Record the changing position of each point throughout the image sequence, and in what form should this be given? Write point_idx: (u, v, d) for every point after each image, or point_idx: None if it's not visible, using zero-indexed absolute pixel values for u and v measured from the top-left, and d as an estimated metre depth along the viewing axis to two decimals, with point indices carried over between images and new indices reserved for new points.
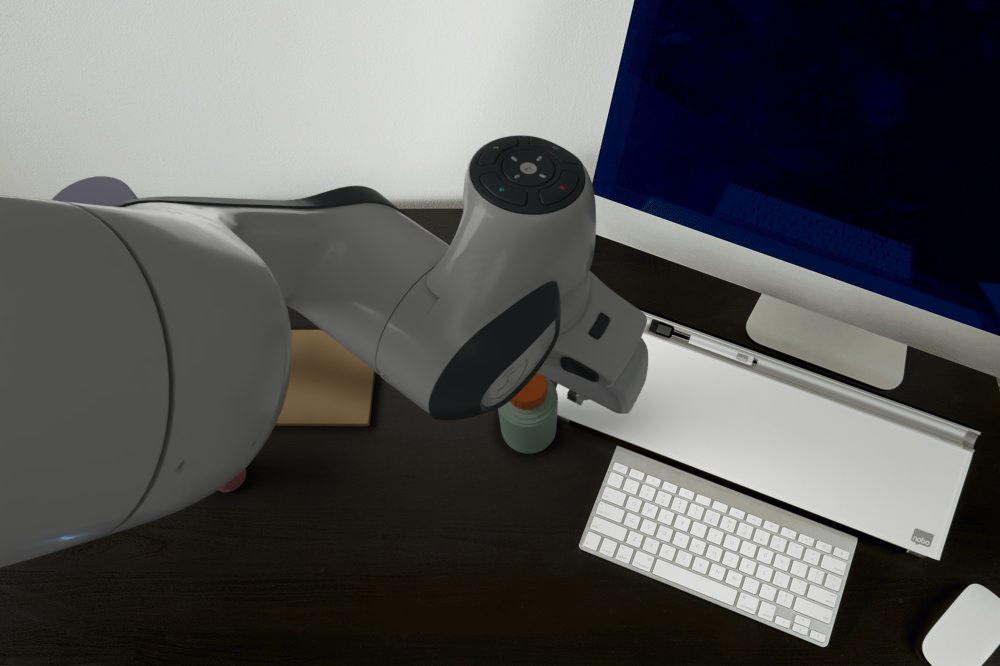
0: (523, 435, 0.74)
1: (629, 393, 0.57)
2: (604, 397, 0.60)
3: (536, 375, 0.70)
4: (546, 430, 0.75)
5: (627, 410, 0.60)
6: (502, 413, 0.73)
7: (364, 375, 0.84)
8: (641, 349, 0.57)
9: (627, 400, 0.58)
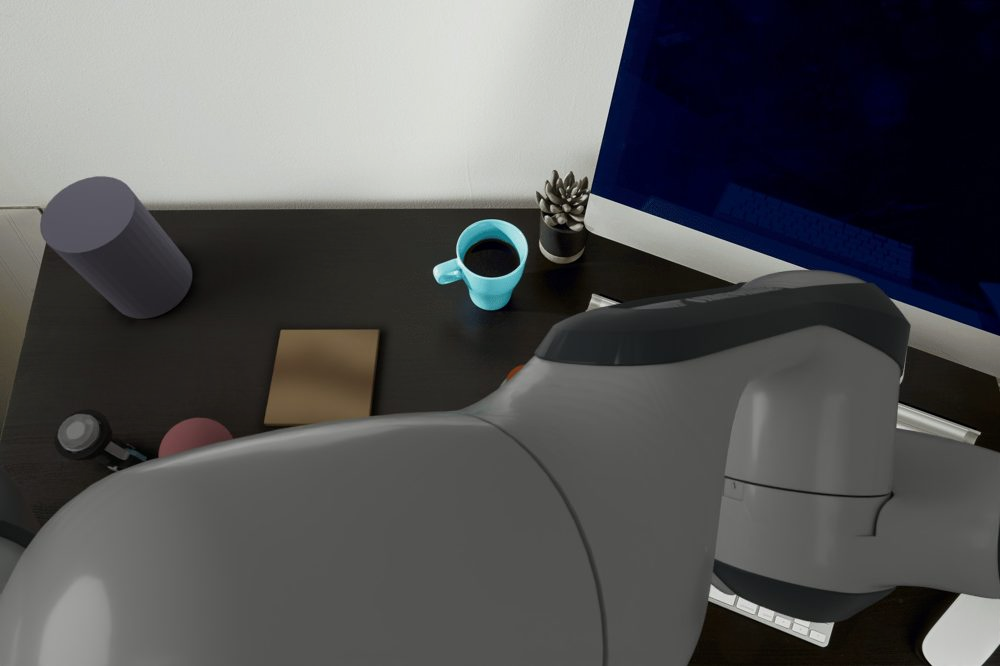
0: None
1: None
2: None
3: None
4: None
5: None
6: None
7: (364, 375, 0.84)
8: None
9: None
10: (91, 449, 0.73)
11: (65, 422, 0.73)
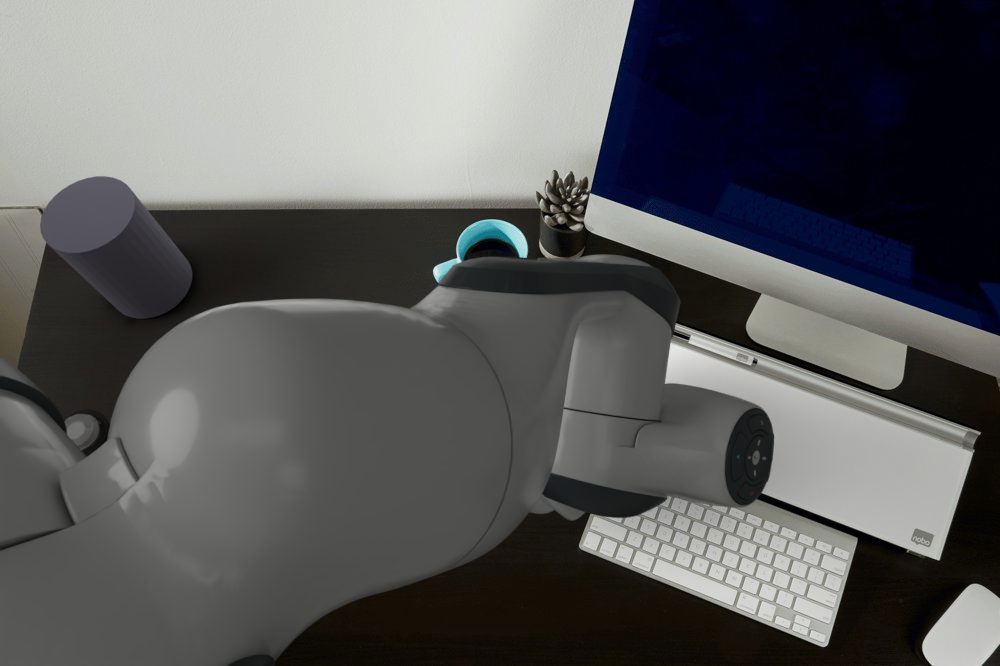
0: None
1: None
2: None
3: None
4: None
5: None
6: None
7: None
8: (543, 509, 0.64)
9: None
10: (91, 449, 0.73)
11: (65, 422, 0.73)
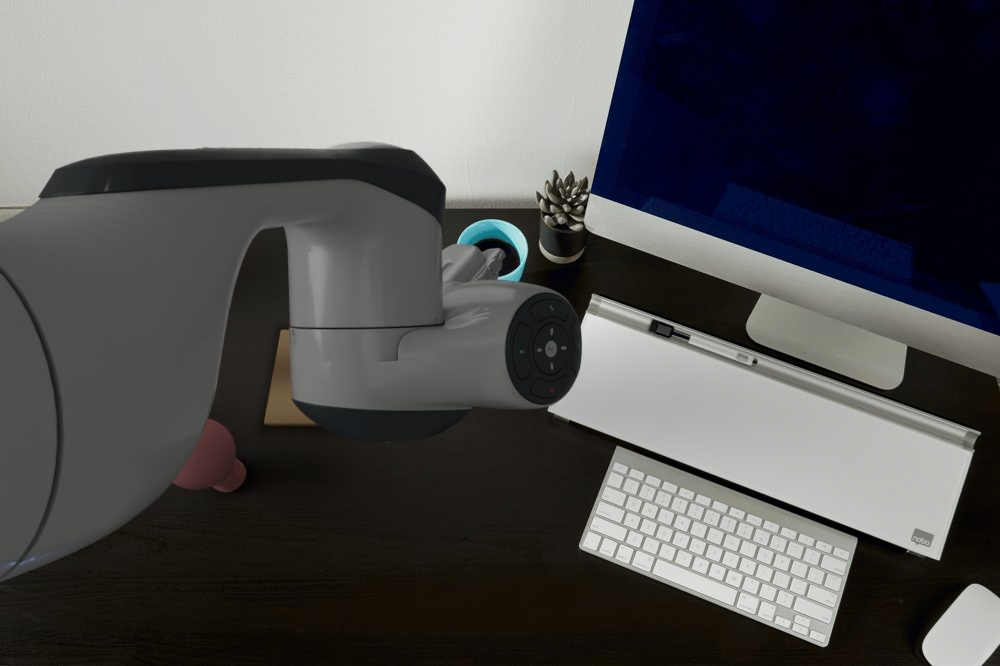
0: None
1: None
2: None
3: None
4: None
5: None
6: None
7: None
8: None
9: None
10: None
11: None
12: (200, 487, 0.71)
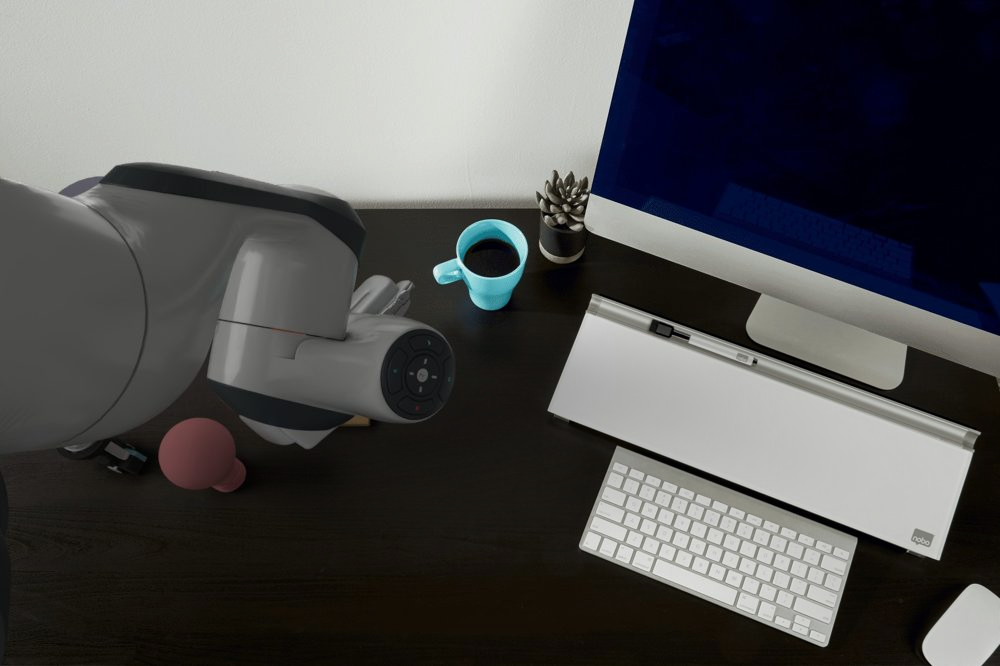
0: None
1: (251, 420, 0.68)
2: None
3: None
4: None
5: (240, 416, 0.70)
6: None
7: None
8: (285, 439, 0.68)
9: (246, 417, 0.68)
10: (91, 449, 0.73)
11: None
12: (200, 487, 0.71)
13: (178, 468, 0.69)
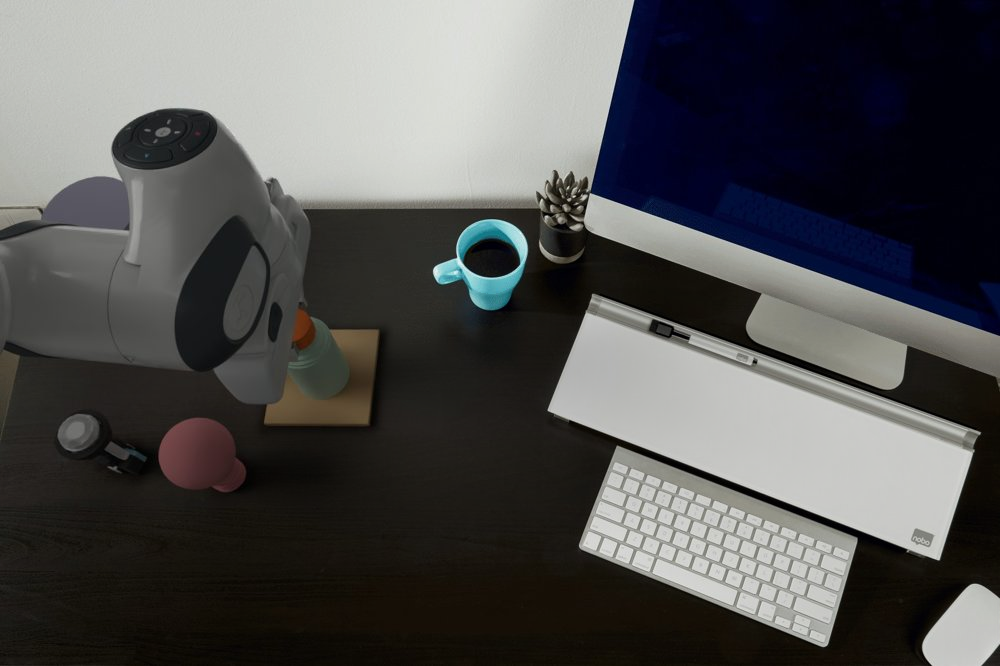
0: (300, 377, 0.78)
1: (227, 382, 0.62)
2: None
3: (301, 317, 0.74)
4: (324, 373, 0.78)
5: None
6: None
7: (364, 375, 0.84)
8: (257, 367, 0.61)
9: (225, 385, 0.63)
10: (91, 449, 0.73)
11: (65, 422, 0.73)
12: (200, 487, 0.71)
13: (178, 468, 0.69)
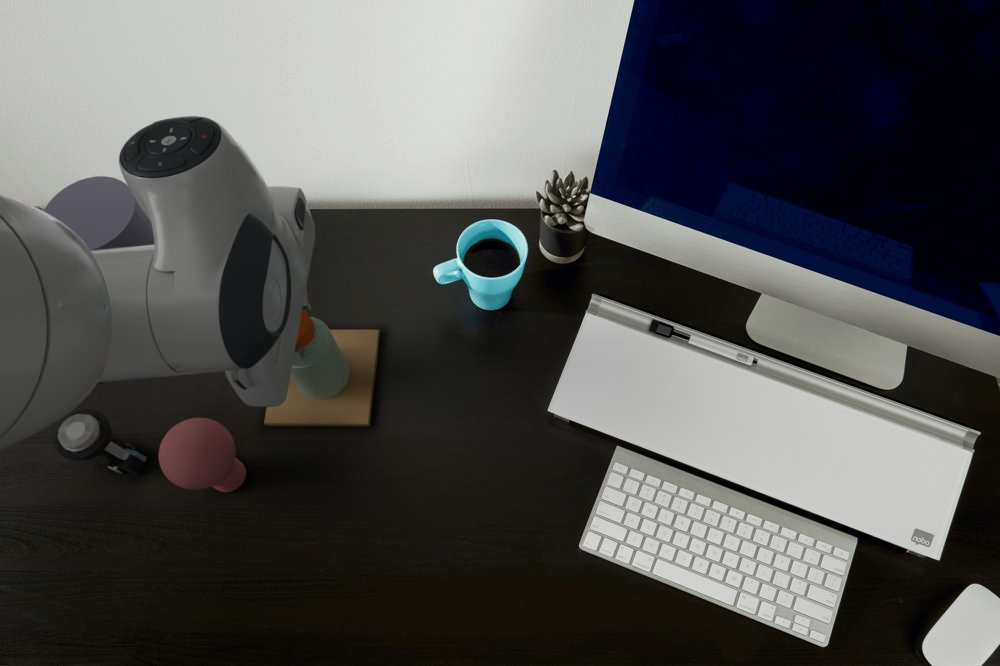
0: (300, 377, 0.78)
1: None
2: (308, 236, 0.73)
3: None
4: (324, 373, 0.78)
5: None
6: None
7: (364, 375, 0.84)
8: None
9: None
10: (91, 449, 0.73)
11: (65, 422, 0.73)
12: (200, 487, 0.71)
13: (178, 468, 0.69)
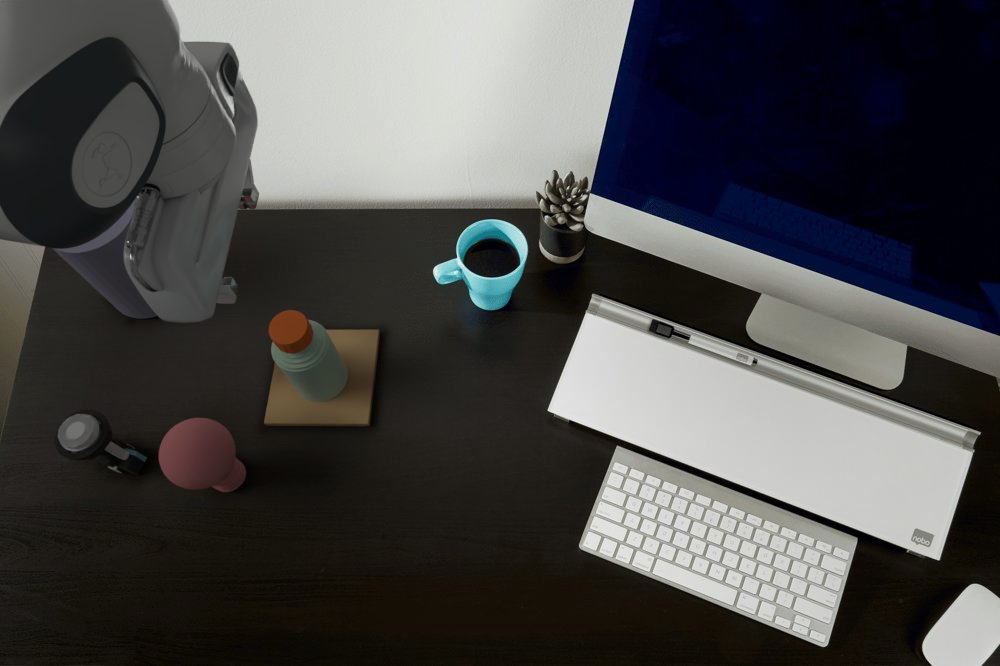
0: (298, 380, 0.78)
1: None
2: (246, 117, 0.58)
3: (277, 333, 0.73)
4: (322, 376, 0.78)
5: (252, 100, 0.60)
6: (274, 359, 0.76)
7: (364, 375, 0.84)
8: None
9: None
10: (91, 449, 0.73)
11: (65, 422, 0.73)
12: (200, 487, 0.71)
13: (178, 468, 0.69)
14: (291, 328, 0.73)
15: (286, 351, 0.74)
